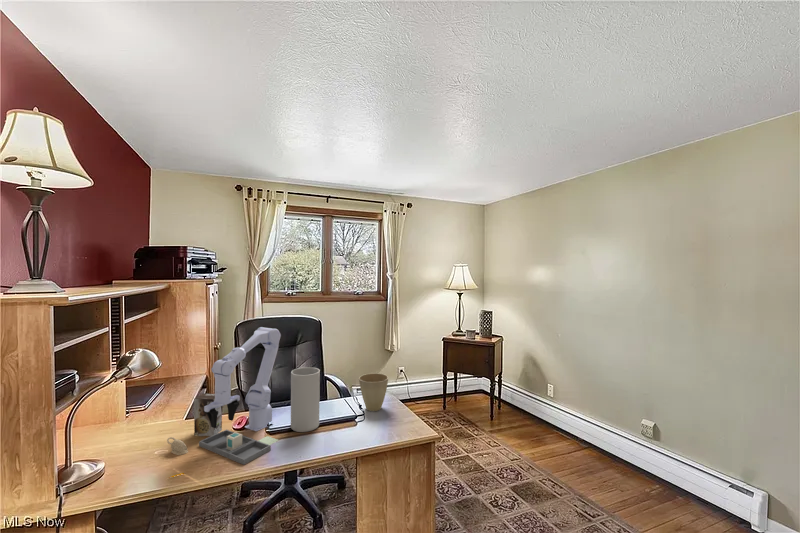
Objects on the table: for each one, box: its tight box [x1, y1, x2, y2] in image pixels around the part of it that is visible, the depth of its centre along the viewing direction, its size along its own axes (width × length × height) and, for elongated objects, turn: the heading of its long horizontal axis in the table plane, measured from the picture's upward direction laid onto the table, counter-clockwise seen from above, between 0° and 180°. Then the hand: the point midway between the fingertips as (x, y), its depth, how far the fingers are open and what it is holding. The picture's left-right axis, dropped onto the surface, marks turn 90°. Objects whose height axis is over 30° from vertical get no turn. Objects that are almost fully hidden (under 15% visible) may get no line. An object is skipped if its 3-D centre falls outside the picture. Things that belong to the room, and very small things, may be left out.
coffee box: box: [193, 393, 223, 437], centre depth 157 cm, size 9×6×16 cm
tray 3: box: [227, 439, 272, 466], centre depth 140 cm, size 12×9×2 cm
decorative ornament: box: [166, 436, 189, 456], centre depth 141 cm, size 4×8×5 cm, turn 65°
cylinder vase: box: [290, 366, 321, 433], centre depth 165 cm, size 12×12×25 cm
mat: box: [257, 435, 280, 446], centre depth 150 cm, size 7×7×1 cm
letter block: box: [227, 431, 243, 450], centre depth 144 cm, size 4×4×5 cm
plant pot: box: [358, 372, 389, 412], centre depth 186 cm, size 15×15×16 cm
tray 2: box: [212, 434, 255, 459], centre depth 144 cm, size 12×9×2 cm
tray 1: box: [198, 429, 236, 453], centre depth 149 cm, size 12×9×2 cm
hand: (222, 423), depth 148 cm, fingers open, 7 cm apart
